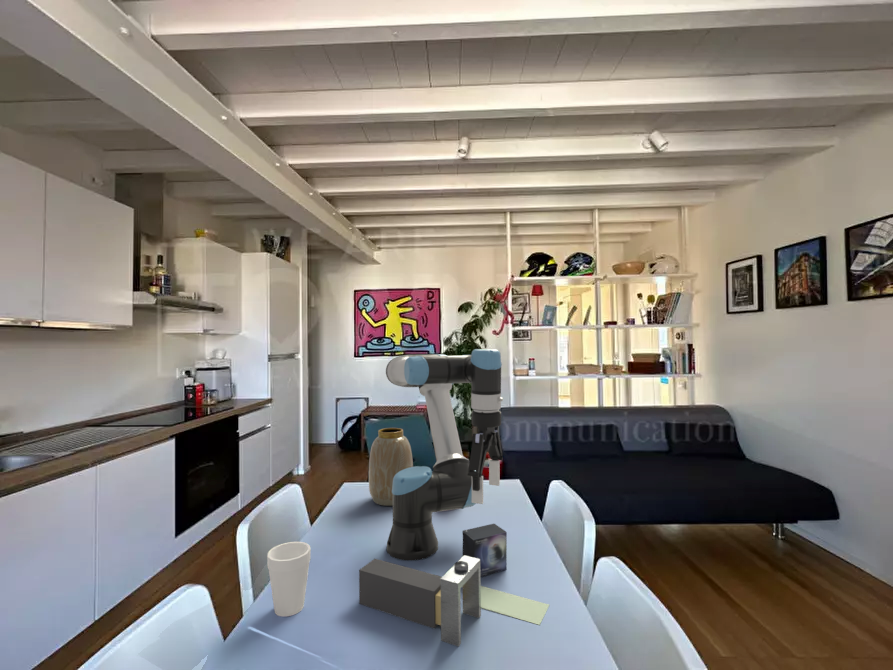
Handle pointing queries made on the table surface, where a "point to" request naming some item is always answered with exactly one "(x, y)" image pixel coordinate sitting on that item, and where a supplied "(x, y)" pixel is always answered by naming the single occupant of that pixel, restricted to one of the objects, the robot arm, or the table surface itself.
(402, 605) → the plug
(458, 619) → the frame
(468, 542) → the small box
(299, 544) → the foam cup
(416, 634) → the table surface
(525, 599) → the mat
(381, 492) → the vase
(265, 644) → the table surface
